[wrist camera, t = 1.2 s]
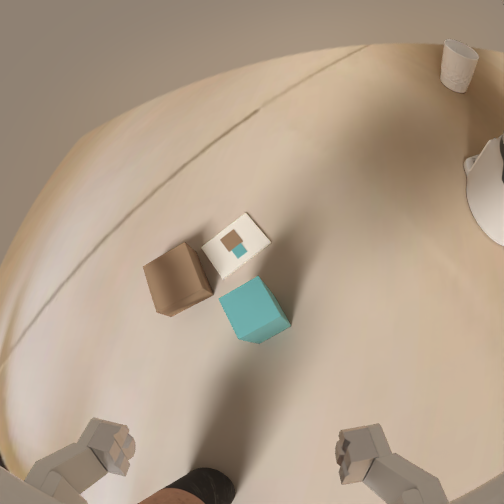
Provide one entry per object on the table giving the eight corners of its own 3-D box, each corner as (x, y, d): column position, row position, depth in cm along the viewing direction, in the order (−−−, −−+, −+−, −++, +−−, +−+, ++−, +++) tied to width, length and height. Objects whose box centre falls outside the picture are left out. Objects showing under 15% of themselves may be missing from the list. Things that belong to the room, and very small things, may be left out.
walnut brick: (196, 252, 41) (184, 242, 37) (214, 295, 38) (202, 288, 34) (157, 274, 41) (142, 266, 38) (171, 317, 38) (156, 312, 35)
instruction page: (246, 213, 41) (245, 212, 41) (271, 243, 38) (270, 241, 38) (201, 248, 41) (200, 247, 40) (223, 279, 38) (222, 279, 38)
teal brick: (273, 295, 36) (258, 275, 28) (291, 325, 34) (280, 315, 26) (242, 312, 36) (218, 298, 28) (259, 343, 34) (238, 339, 26)
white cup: (450, 95, 40) (460, 58, 31) (430, 73, 43) (436, 38, 34) (475, 94, 39) (486, 60, 30) (455, 73, 42) (462, 40, 33)
